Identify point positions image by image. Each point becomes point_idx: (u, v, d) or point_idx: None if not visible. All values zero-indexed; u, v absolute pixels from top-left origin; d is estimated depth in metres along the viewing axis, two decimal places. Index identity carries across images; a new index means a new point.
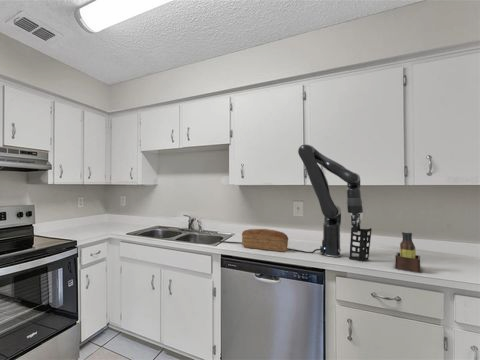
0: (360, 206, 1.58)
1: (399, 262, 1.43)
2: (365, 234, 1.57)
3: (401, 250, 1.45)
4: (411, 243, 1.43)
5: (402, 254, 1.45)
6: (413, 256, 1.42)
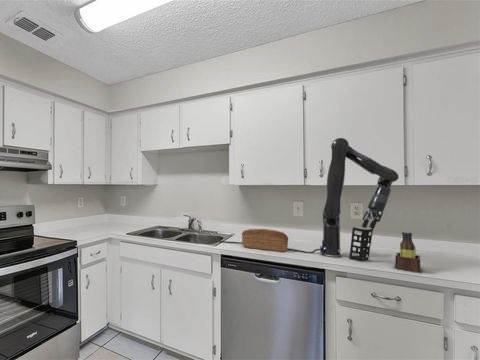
0: (385, 205, 1.53)
1: (399, 262, 1.43)
2: (366, 234, 1.56)
3: (401, 250, 1.45)
4: (411, 243, 1.43)
5: (402, 254, 1.45)
6: (413, 256, 1.42)
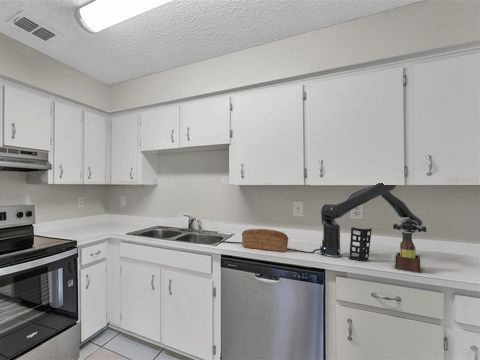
0: None
1: (399, 262, 1.43)
2: (365, 234, 1.57)
3: (401, 250, 1.45)
4: (411, 243, 1.43)
5: (402, 254, 1.45)
6: (413, 256, 1.42)
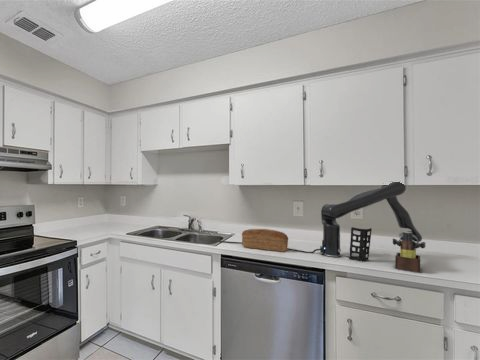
0: None
1: (399, 262, 1.43)
2: (365, 234, 1.57)
3: (401, 250, 1.45)
4: (411, 243, 1.43)
5: (402, 254, 1.45)
6: (413, 256, 1.42)
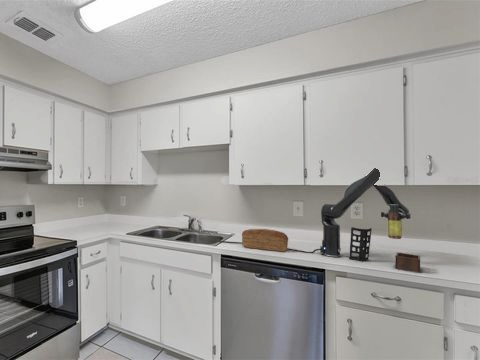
0: None
1: (399, 262, 1.43)
2: (365, 234, 1.57)
3: (388, 221, 1.56)
4: (397, 214, 1.54)
5: (389, 225, 1.55)
6: (399, 226, 1.53)
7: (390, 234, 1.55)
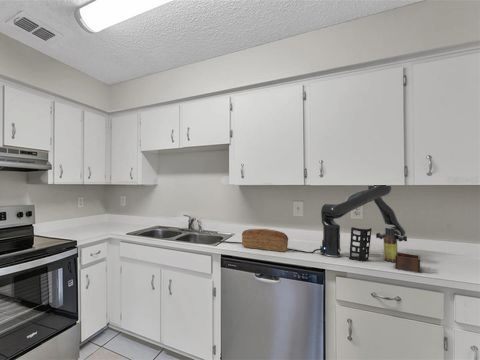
0: None
1: (399, 262, 1.43)
2: (365, 234, 1.57)
3: (384, 244, 1.60)
4: (393, 237, 1.57)
5: (385, 248, 1.59)
6: (395, 249, 1.56)
7: (387, 257, 1.58)
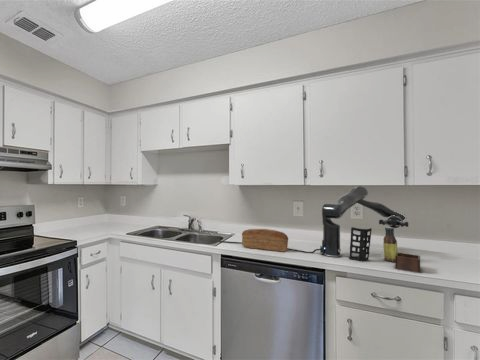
0: None
1: (399, 262, 1.43)
2: (365, 234, 1.57)
3: (384, 244, 1.60)
4: (393, 237, 1.57)
5: (385, 247, 1.59)
6: (395, 249, 1.56)
7: (386, 257, 1.58)
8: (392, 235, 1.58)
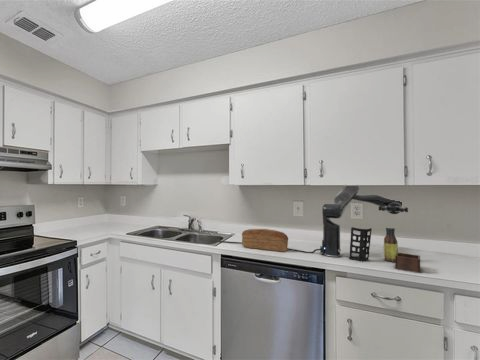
0: None
1: (399, 262, 1.43)
2: (365, 234, 1.57)
3: (385, 244, 1.60)
4: (393, 237, 1.57)
5: (385, 247, 1.59)
6: (395, 249, 1.56)
7: (387, 257, 1.58)
8: (393, 235, 1.57)
